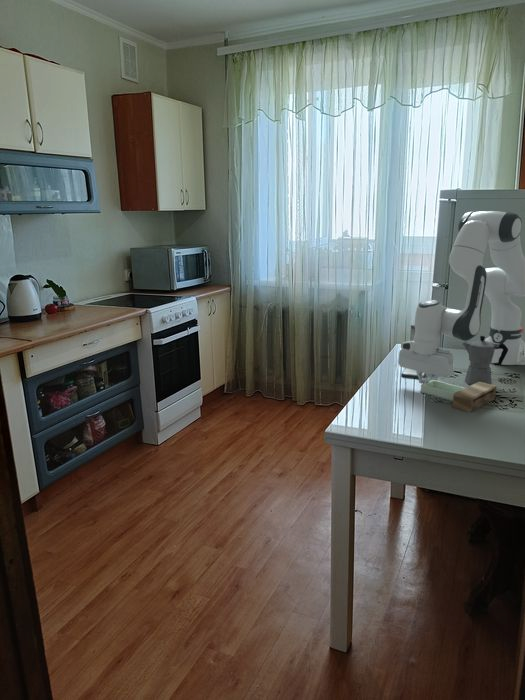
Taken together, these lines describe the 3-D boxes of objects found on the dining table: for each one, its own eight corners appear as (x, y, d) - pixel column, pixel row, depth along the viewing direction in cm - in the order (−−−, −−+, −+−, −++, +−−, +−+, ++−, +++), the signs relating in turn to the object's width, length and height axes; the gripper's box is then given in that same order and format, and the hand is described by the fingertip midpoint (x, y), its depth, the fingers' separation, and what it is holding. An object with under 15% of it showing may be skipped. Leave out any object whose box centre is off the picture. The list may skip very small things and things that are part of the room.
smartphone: (408, 367, 212) (400, 377, 198) (408, 363, 212) (400, 373, 198) (430, 369, 208) (423, 380, 195) (430, 366, 208) (424, 376, 194)
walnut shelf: (477, 394, 178) (479, 381, 177) (494, 399, 173) (496, 385, 172) (452, 407, 167) (453, 393, 166) (470, 412, 163) (471, 398, 161)
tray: (432, 387, 186) (433, 379, 185) (475, 398, 174) (475, 390, 173) (420, 392, 181) (421, 384, 180) (463, 404, 169) (463, 396, 168)
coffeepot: (458, 384, 188) (462, 337, 183) (459, 377, 196) (463, 331, 192) (504, 389, 182) (509, 340, 177) (504, 381, 190) (509, 334, 186)
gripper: (458, 350, 174) (455, 388, 178) (406, 340, 189) (404, 375, 193) (448, 353, 170) (445, 392, 174) (396, 343, 185) (394, 379, 189)
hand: (423, 383), depth 184 cm, fingers closed
